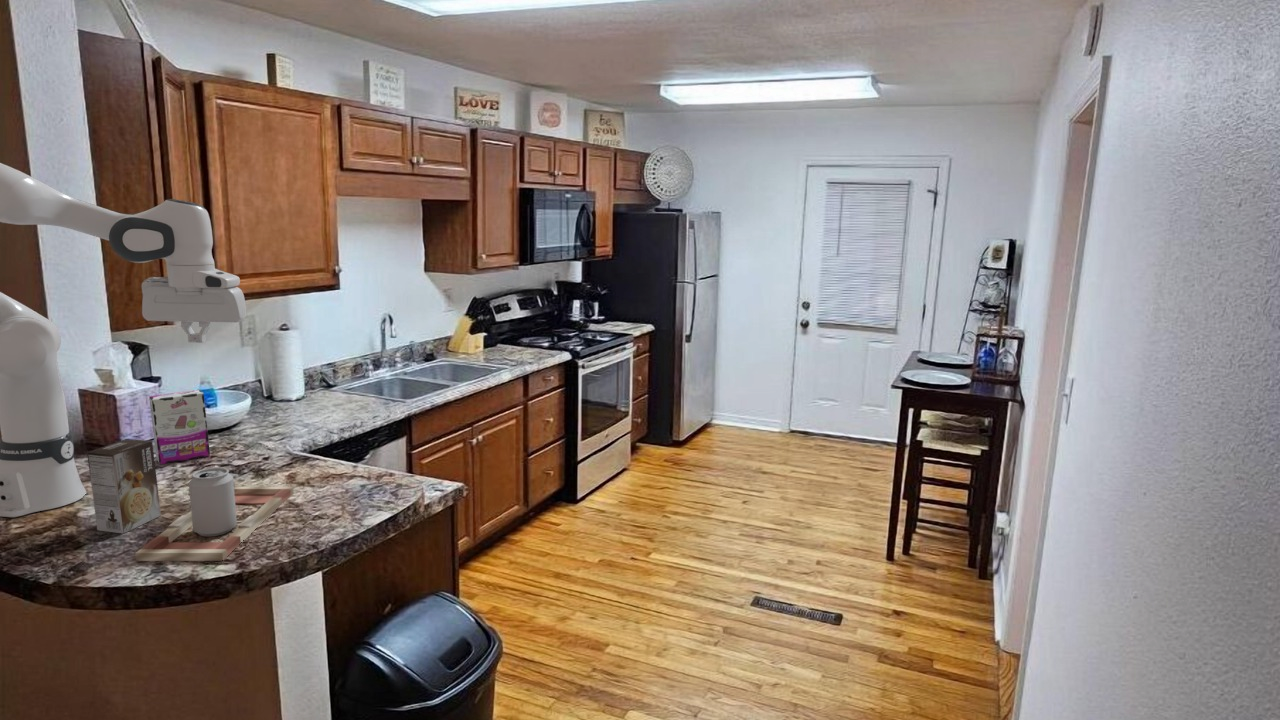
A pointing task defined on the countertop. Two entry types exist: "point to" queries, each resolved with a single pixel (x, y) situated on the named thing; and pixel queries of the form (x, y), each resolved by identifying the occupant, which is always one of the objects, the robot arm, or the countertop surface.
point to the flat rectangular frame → (214, 551)
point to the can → (212, 501)
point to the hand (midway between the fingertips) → (197, 342)
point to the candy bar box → (179, 426)
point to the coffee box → (124, 485)
